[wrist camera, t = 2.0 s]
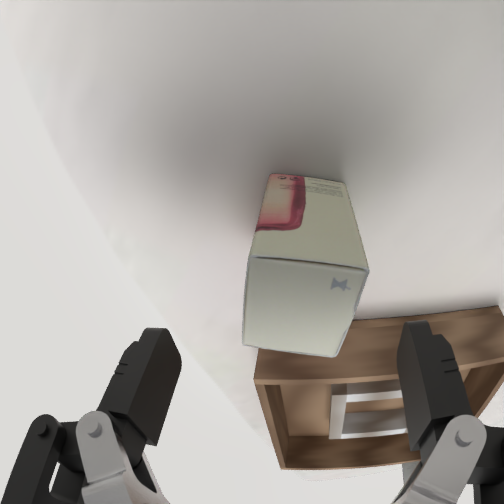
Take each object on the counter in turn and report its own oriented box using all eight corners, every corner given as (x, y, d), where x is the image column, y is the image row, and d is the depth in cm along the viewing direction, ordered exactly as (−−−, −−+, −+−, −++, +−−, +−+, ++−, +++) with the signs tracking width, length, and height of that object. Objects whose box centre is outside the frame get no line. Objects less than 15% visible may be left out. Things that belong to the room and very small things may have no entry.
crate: (498, 305, 20) (521, 352, 16) (440, 420, 30) (446, 455, 26) (263, 323, 24) (253, 379, 20) (285, 432, 34) (280, 469, 30)
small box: (268, 170, 17) (244, 251, 11) (347, 181, 17) (372, 269, 10) (261, 248, 20) (238, 348, 14) (330, 258, 20) (337, 361, 13)
